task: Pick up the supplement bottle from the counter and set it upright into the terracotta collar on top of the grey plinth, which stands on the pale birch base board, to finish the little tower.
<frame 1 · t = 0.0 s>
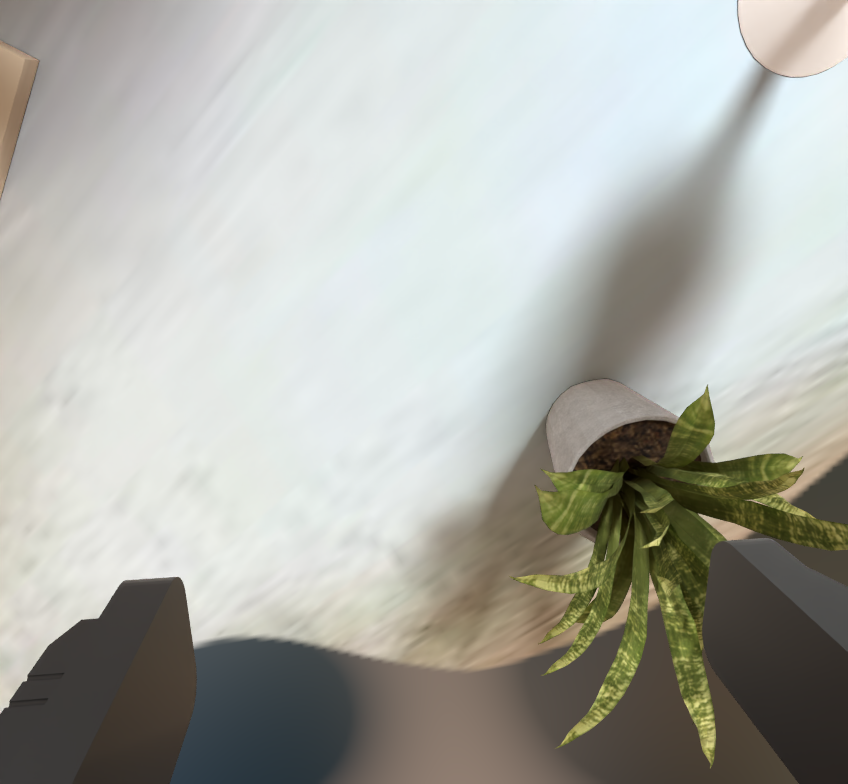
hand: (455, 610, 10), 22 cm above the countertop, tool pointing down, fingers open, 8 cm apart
house plant: (566, 426, 35), on the countertop
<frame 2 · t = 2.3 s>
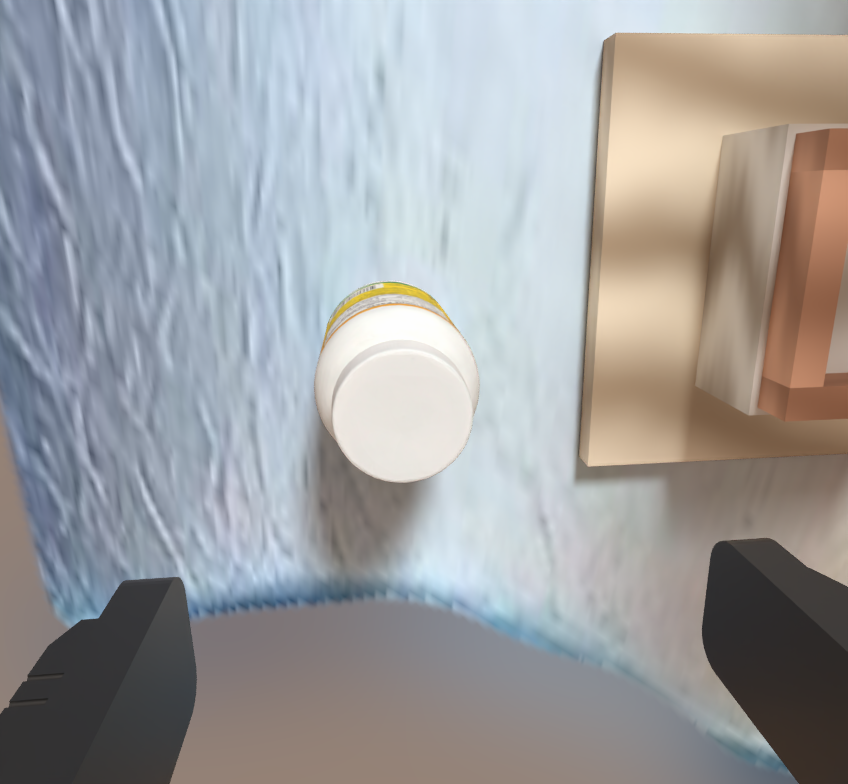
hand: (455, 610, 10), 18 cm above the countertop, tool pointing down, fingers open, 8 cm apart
tower base: (805, 262, 28), on the countertop
supplement bottle: (388, 342, 27), on the countertop
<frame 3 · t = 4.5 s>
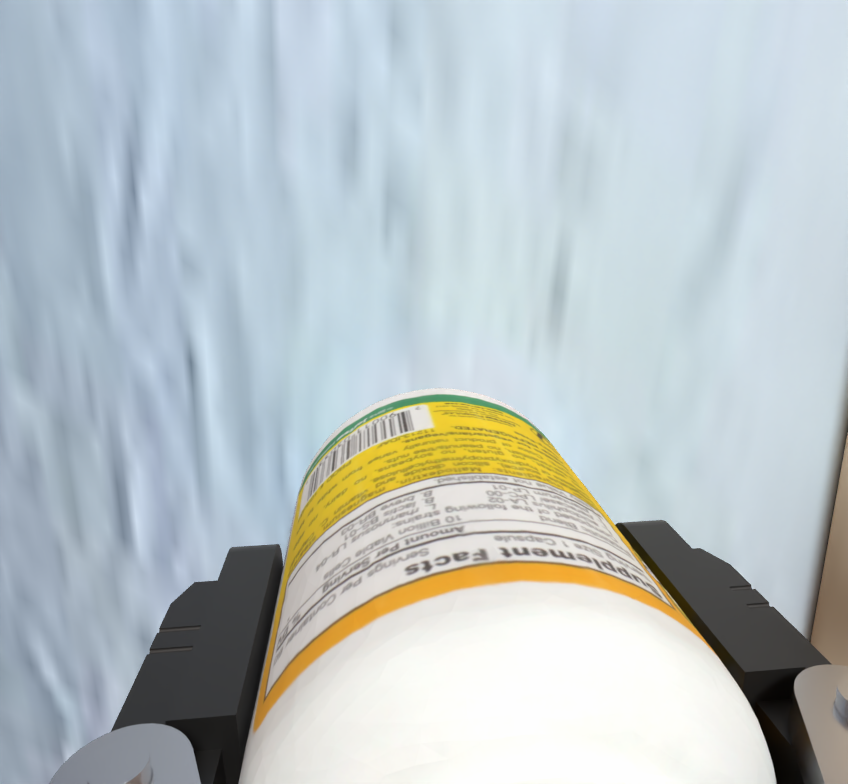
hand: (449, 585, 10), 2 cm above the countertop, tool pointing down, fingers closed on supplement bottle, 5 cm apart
supplement bottle: (432, 508, 13), on the countertop, touching gripper
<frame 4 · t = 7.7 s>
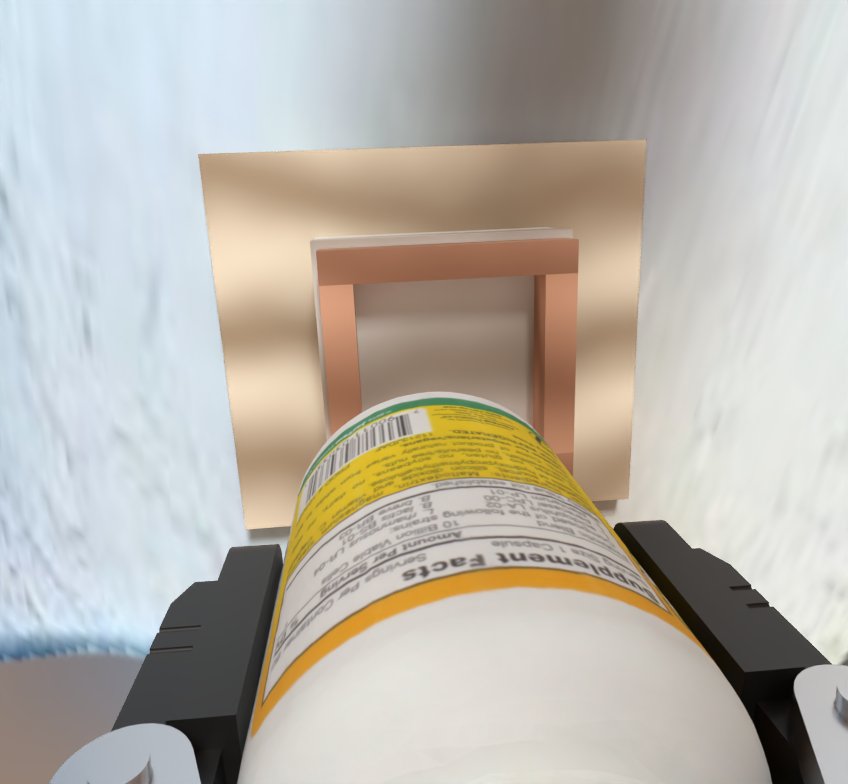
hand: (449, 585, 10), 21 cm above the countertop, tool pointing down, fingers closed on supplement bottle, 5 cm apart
tower base: (433, 339, 31), on the countertop
supplement bottle: (431, 511, 13), point 18 cm above the countertop, touching gripper
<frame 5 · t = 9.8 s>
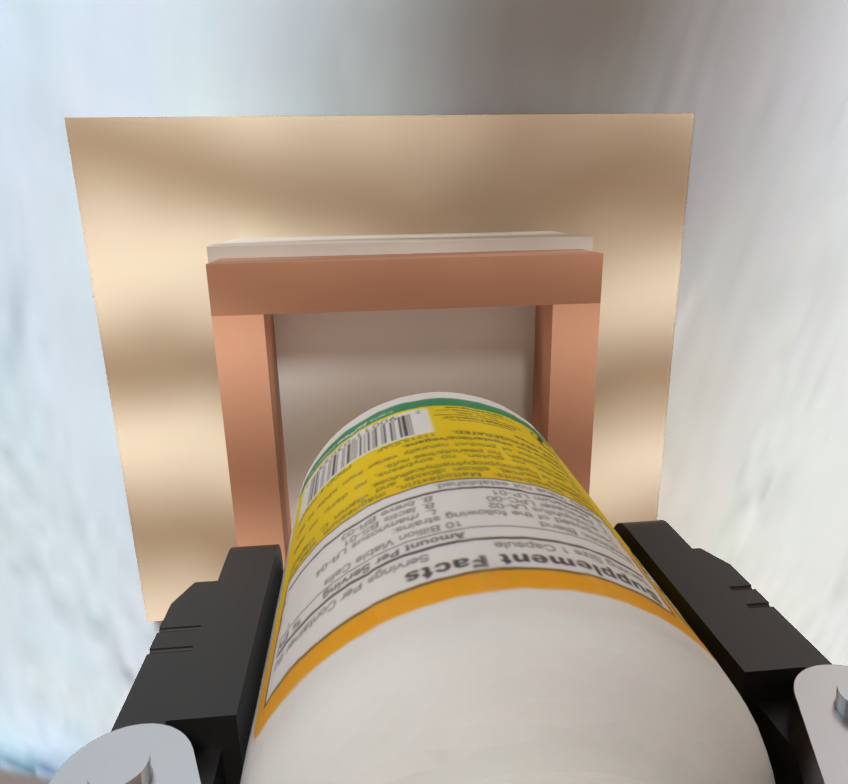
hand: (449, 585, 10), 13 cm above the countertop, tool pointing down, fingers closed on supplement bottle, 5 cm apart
tower base: (398, 376, 23), on the countertop
supplement bottle: (432, 511, 13), point 11 cm above the countertop, touching gripper
when the fingers open (10 cm above the countertop, at t = 11.2 s): supplement bottle drops 2 cm, resting on tower base.
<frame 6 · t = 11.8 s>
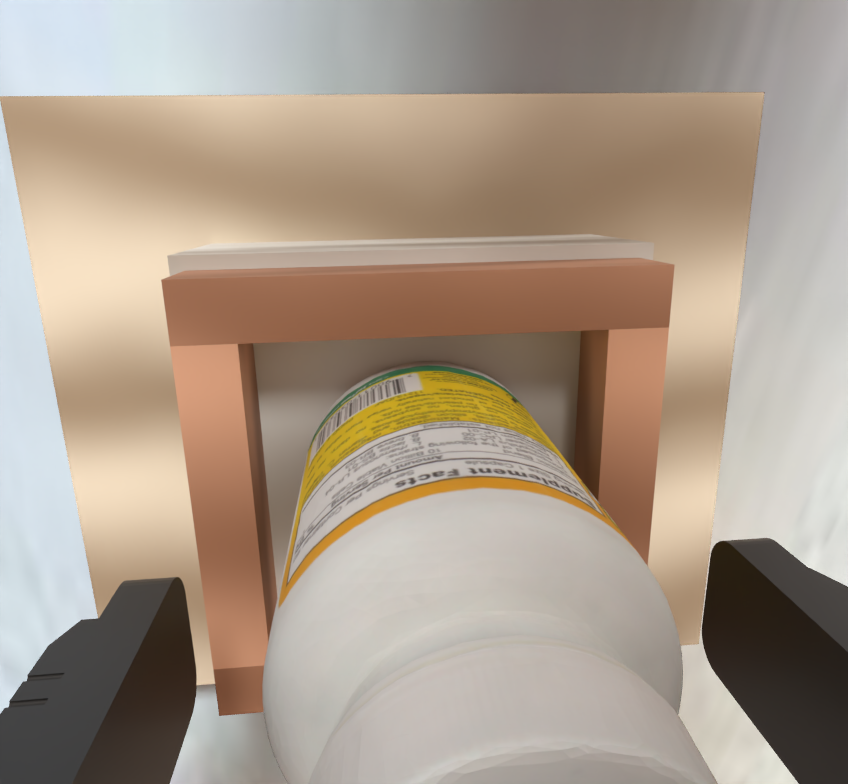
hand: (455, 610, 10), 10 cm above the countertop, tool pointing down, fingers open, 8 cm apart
tower base: (407, 405, 20), on the countertop
supplement bottle: (423, 468, 15), point 5 cm above the countertop, touching tower base
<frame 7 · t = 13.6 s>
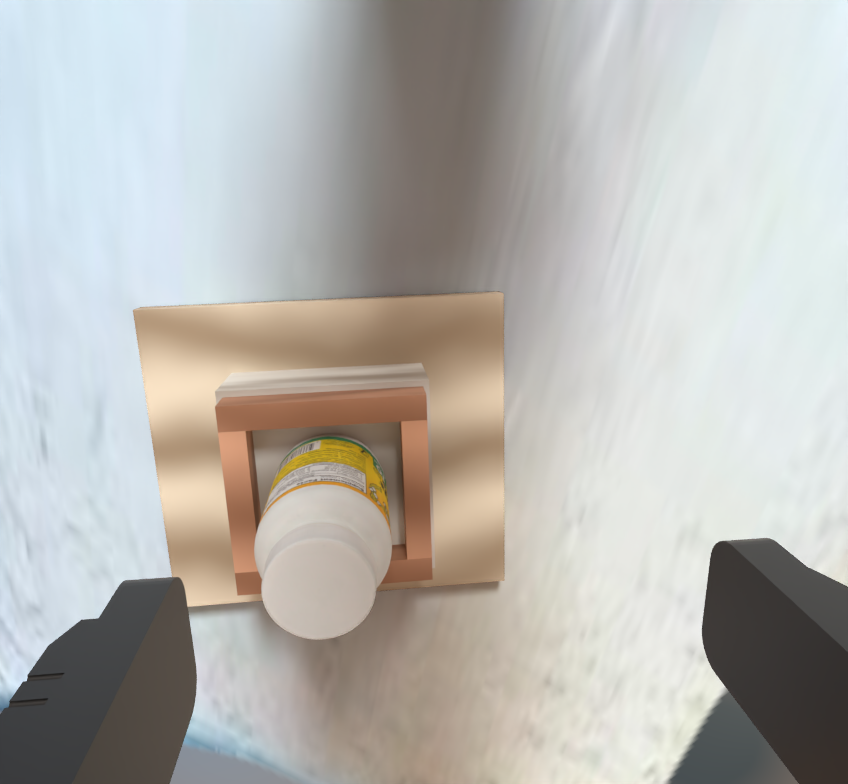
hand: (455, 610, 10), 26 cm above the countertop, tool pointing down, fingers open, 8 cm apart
tower base: (334, 449, 37), on the countertop
supplement bottle: (331, 482, 32), point 5 cm above the countertop, touching tower base
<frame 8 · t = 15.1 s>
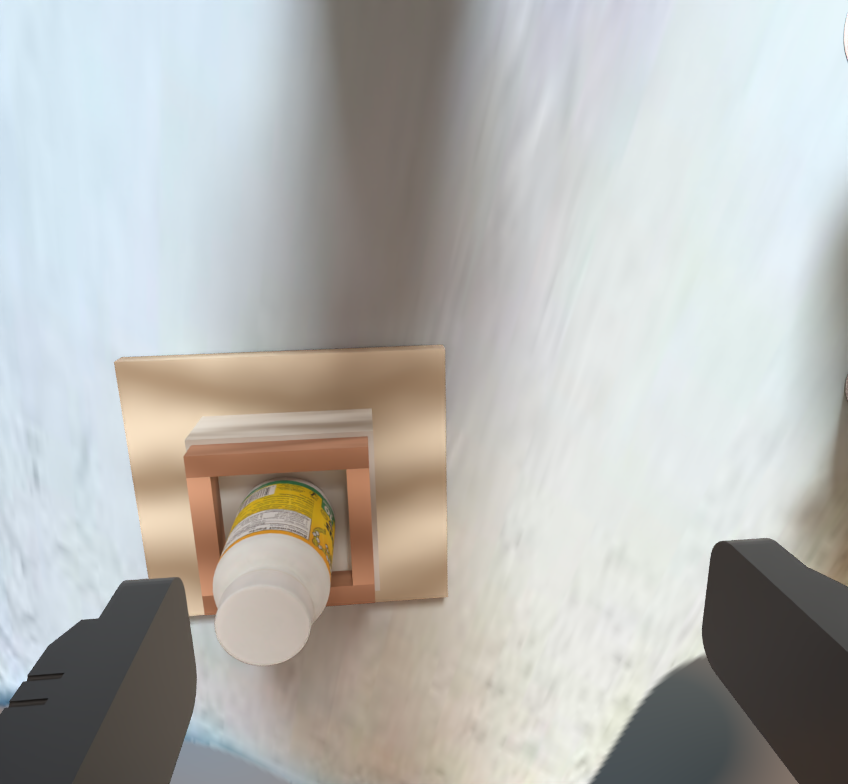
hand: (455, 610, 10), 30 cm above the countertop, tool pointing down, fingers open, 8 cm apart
tower base: (296, 481, 41), on the countertop
supplement bottle: (288, 516, 36), point 5 cm above the countertop, touching tower base
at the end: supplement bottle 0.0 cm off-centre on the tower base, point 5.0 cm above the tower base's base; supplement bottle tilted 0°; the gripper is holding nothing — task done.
